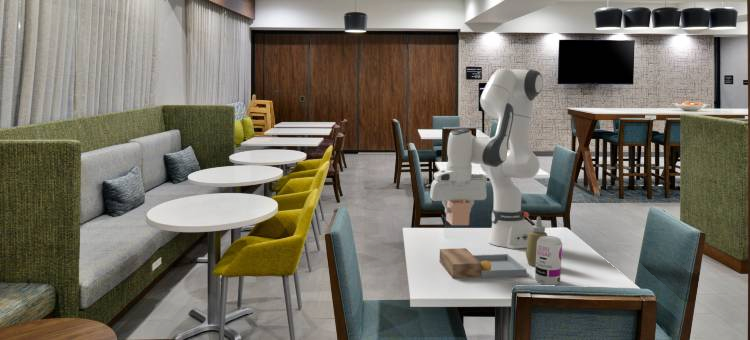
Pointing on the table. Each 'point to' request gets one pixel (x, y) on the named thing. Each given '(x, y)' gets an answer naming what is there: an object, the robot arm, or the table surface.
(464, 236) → the table surface
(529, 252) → the squeeze bottle
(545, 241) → the supplement can
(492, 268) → the tray
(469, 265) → the wooden block
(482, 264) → the ball
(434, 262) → the table surface
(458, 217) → the sleeve
